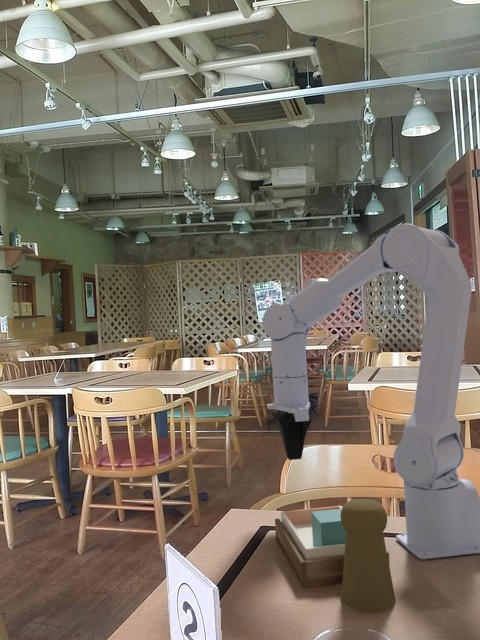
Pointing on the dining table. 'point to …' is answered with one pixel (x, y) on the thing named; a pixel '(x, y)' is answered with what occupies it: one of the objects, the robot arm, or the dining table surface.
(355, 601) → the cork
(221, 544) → the dining table surface
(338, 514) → the teal block
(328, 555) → the tray
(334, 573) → the dock
